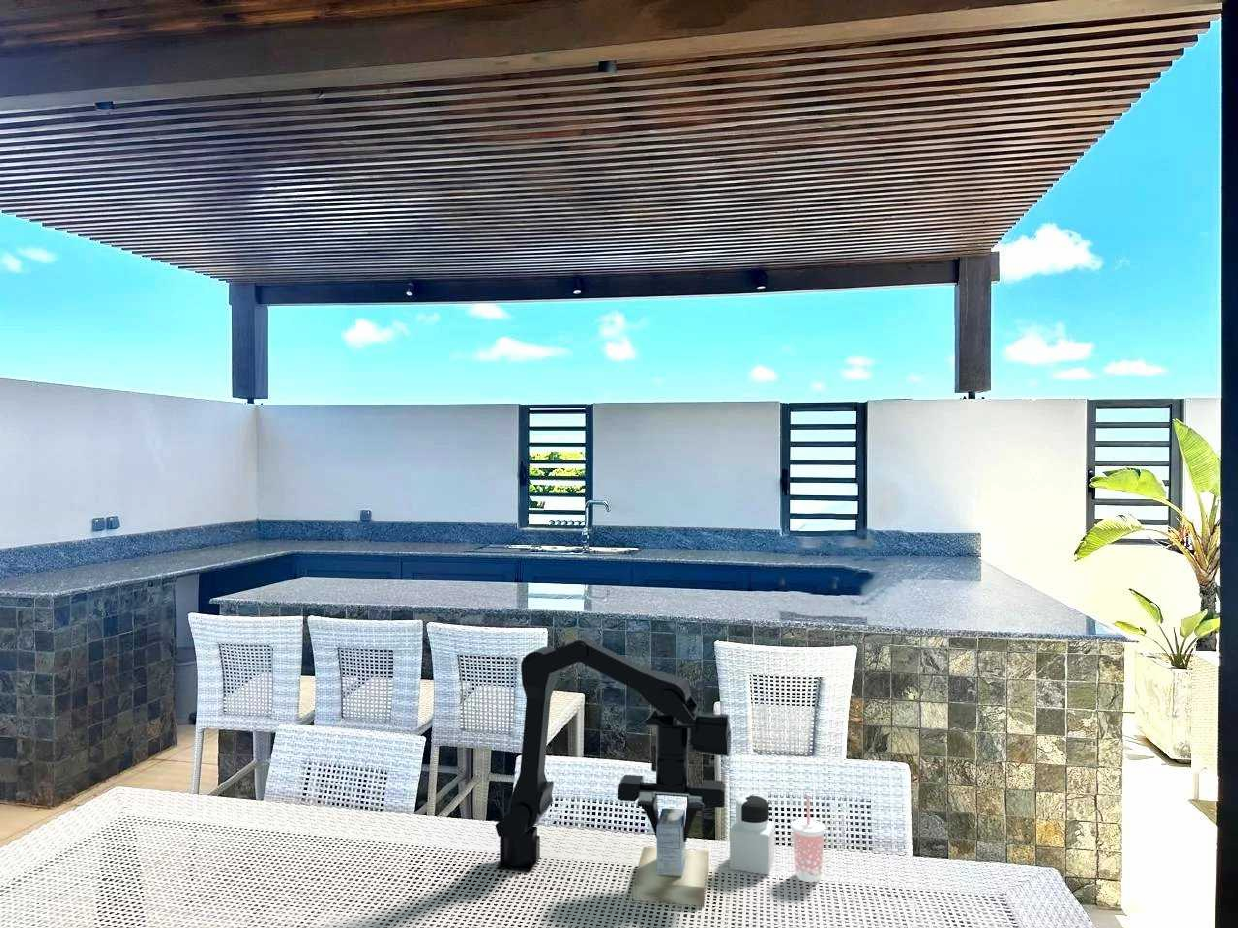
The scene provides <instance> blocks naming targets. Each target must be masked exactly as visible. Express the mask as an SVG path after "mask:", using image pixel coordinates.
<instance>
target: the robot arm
mask: <svg viewBox="0 0 1238 928" xmlns="http://www.w3.org/2000/svg"><path fill="white" fill-rule="evenodd" d="M578 663H581V664H582V665H585V666H586V667H588V668H590V669H593V670H595V671H596V672H599V673H600V674H602V675H604V676H606V677H608V678H610V679H611V680H614V681H616V682H618V683H620V684H622V685H624V686H625V687H627V688H630V689H632V690H633V691H635V692H636V693H638V694H639V696H641V697H642V698H643V700H644V701H646V702H647V704H649V705H650V706H651V707H653V708H654V710H653V711H652V712H651V714H650V715H649V716H648V717H647V718H646V719H645V720H644V724H645V725H646V726H647V725H648V726H656V730H655V731H656V732H655V739H656V740H655V753H654V752H652V754H651V764H650V765H651V766H650V768H651V769H650V770H651V771H652V772H655V782H645V778H644V775H635V774H624V775H623V776H622V777H621V779H620V781H619V783H618V785H617V800H619V801H621V802H623V801H624V802H635V803H636V801H637V807H640V808H643V811H644V812H645V815H646V816H647V818H648V821H649V824H650V825H651V827H652V831H653V834H654V836H655V840H657V836H656V835H657V824H658V821H659V818H660V815H659V810H658V809H659V807H658V796H664V797H665V796H666V797H668V796H669V797H677V798H678V797H682V798H688V799H687V806H686V810H685V825H684V833H683V840H684V842H685V843H686V842H687V839H688V835H689V833H690V830H691V826H692V825H693V821H694V820H695V818H696V816H697V813H698V812H703V811H704V810H705V807H708V808H719V809H720V808H724V807H725V802H726V784H725V783H724V782H723V781H722V780H708V779H703V781H702V786H701V785H698V786H697V785H689V783H690V777H691V776H690V771H691V770H690V764H689V742H690V747H692V750H693V751H696V753H697V754H704V755H713V756H722V757H724V756H725V757H729V756H730V754H731V748H732V747H731V746H732V730H731V724H730V722H729V721H730V716H729V715H728V714H722V713H721V714H709V713H708V714H707V713H702V709H701V708H700V706H699V705H698V703H697V702H696V700H695V699H694V698H693V696H692V694H691V688H690V686H689V683H688V681H687V680H686V679H684V678H683V677H681V676H678V675H675V674H672V673H668V672H665V671H659V670H654V669H649V668H646V667H645V666H643V665H640V664H638V663H637V662H635V661H633V660H630V659H628V658H626V657H624V656H623V655H621V654H618V653H616V652H614V651H613V650H610V649H609V648H606V647H604V646H603V645H601V644H598V643H596V642H594V640H592V638H589V637H586V636H583V637H581V638H578V639H576V640H574V641H572V642H569V643H566V644H563V645H560V646H557V647H551V646H542V647H540V648H538V649H535V650H534V651H531V652H529V653H528V654H527V655H526V656H524V657H523V659H522V661H521V664H520V672H521V683H522V688H523V691H524V693H525V696H526V701H525V703H526V704H525V713H524V725H523V735H522V738H523V739H522V747H521V757H520V758H521V759H520V768H519V776H518V778H517V780H516V783H515V785H514V788H513V791H512V793H511V796H510V801H509V805H508V808H507V814H506V815H505V816H504V817H503V818H501V819H500V821H498V822H497V823H496V824H495V829H496V832H497V836H498V837H499V838H500V839H499V842H500V847H499V850H500V851H499V862H498V864H497V865H496V869H498V870H509V871H518V872H521V871H523V872H531V871H532V870H533V869H534V867H535V865H536V864H537V863H538V861H539V860H540V858H541V855H540V853H541V851H540V850H541V847H540V846H541V836H539V835H538V827H537V826H535V825H536V824H538V823H539V820H540V819H541V818H542V817H543V816H544V814H545V813H547V811H548V809H549V807H550V806H551V805H552V804H553V803H554V800H553V791H554V787H555V786H554V785H555V782H554V781H548V779H547V776H546V774H545V768H546V755H547V745H548V733H549V722H550V721H549V720H550V711H551V699H552V695H553V693H554V691H555V688H556V686H557V684H558V680H559V677H560V673H561V670H562V669H564V668H567V667H569V666H572V665H574V664H575V665H576V664H578ZM689 729H690V733H689Z"/></svg>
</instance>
